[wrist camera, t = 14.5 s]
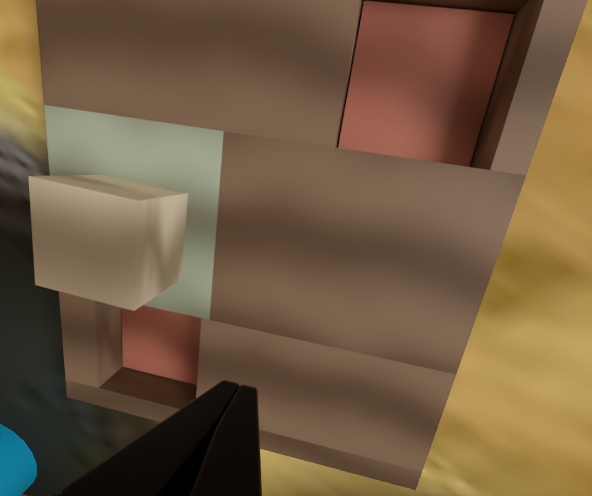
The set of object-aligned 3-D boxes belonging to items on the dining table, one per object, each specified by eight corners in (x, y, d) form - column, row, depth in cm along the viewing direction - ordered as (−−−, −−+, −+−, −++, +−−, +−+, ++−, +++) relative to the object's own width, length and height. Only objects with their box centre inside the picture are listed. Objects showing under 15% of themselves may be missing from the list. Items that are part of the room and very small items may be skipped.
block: (180, 279, 17) (134, 311, 13) (102, 259, 18) (35, 285, 14) (188, 193, 16) (138, 200, 12) (102, 174, 16) (28, 176, 12)
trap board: (407, 452, 21) (415, 489, 18) (95, 373, 23) (67, 397, 21) (557, -8, 13) (603, -47, 11) (76, -47, 16) (29, -86, 14)
